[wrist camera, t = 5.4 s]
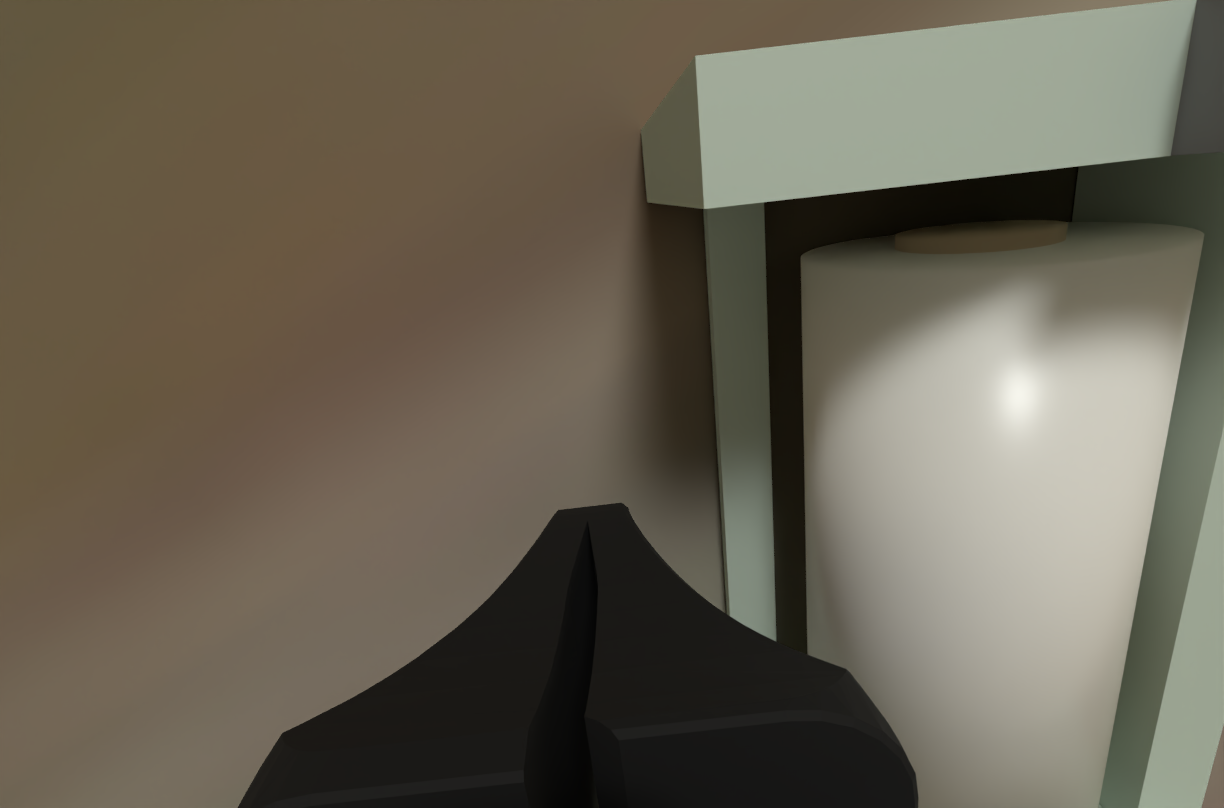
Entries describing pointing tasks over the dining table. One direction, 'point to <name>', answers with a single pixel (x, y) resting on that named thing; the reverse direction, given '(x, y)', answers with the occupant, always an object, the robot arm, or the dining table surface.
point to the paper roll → (989, 486)
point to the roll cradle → (964, 149)
